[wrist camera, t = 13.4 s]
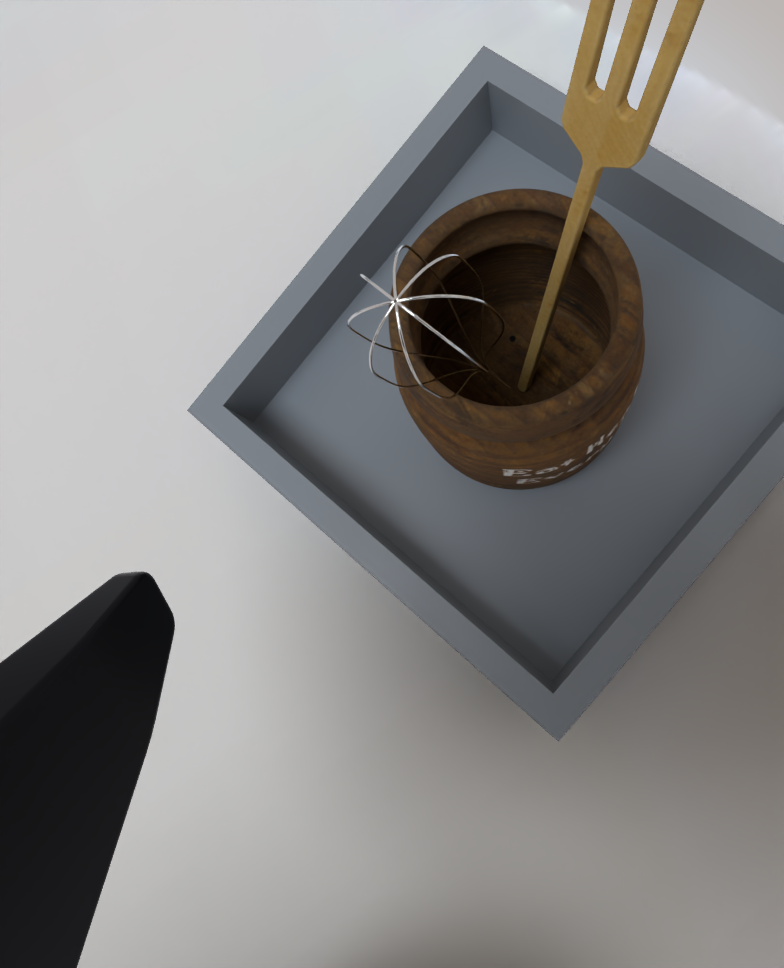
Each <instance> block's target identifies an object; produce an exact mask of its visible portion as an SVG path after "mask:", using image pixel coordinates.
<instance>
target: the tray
mask: <svg viewBox="0 0 784 968" xmlns="http://www.w3.org/2000/svg"><path fill="white" fill-rule="evenodd" d="M566 97H567V95H565V94H563V93H562V92H560V91H558V90H557V89H555V88H553V87H552V86H550V85H548V84H547V83H545V82H543V81H542V80H540V79H538V78H537V77H535V76H533V75H532V74H530V73H528V72H527V71H525V70H523V69H522V68H520V67H518V66H517V65H515V64H513V63H512V62H510V61H508V60H507V59H505V58H503V57H502V56H500V55H498V54H497V53H495V52H493V51H492V50H490V49H488V48H487V47H485V46H483V47H482V48H481V50H480V51H479V52H478V53H477V55H476V56H475V57H474V58H473V60H472V61H471V62H470V63H469V64H468V66H467V67H466V68H465V69H464V71H463V72H462V73H461V74H460V76H459V77H458V78H457V79H456V80H455V82H454V83H453V84H452V85H451V87H450V88H449V89H448V90H447V91H446V93H445V94H444V95H443V96H442V98H441V99H440V100H439V101H438V103H437V104H436V105H435V106H434V107H433V109H432V110H431V111H430V112H429V114H428V115H427V116H426V117H425V119H424V120H423V121H422V122H421V123H420V125H419V126H418V127H417V128H416V130H415V131H414V132H413V133H412V135H411V136H410V137H409V138H408V139H407V141H406V142H405V143H404V144H403V146H402V147H401V148H400V149H399V151H398V152H397V153H396V154H395V155H394V157H393V158H392V159H391V160H390V162H389V163H388V164H387V165H386V167H385V168H384V169H383V170H382V171H381V173H380V174H379V175H378V176H377V178H376V179H375V180H374V181H373V183H372V184H371V185H370V186H369V187H368V189H367V190H366V191H365V192H364V194H363V195H362V196H361V197H360V198H359V200H358V201H357V202H356V203H355V205H354V206H353V207H352V208H351V210H350V211H349V212H348V213H347V214H346V216H345V217H344V218H343V219H342V221H341V222H340V223H339V224H338V226H337V227H336V228H335V229H334V230H333V232H332V233H331V234H330V235H329V237H328V238H327V239H326V240H325V242H324V243H323V244H322V245H321V246H320V248H319V249H318V250H317V251H316V253H315V254H314V255H313V256H312V258H311V259H310V260H309V261H308V262H307V264H306V265H305V266H304V267H303V269H302V270H301V271H300V272H299V274H298V275H297V276H296V277H295V278H294V280H293V281H292V282H291V283H290V285H289V286H288V287H287V288H286V289H285V291H284V292H283V293H282V294H281V296H280V297H279V298H278V299H277V301H276V302H275V303H274V304H273V305H272V307H271V308H270V309H269V310H268V312H267V313H266V314H265V315H264V317H263V318H262V319H261V320H260V321H259V323H258V324H257V325H256V326H255V328H254V329H253V330H252V331H251V333H250V334H249V335H248V336H247V337H246V339H245V340H244V341H243V342H242V344H241V345H240V346H239V347H238V349H237V350H236V351H235V352H234V353H233V355H232V356H231V357H230V358H229V360H228V361H227V362H226V363H225V365H224V366H223V367H222V368H221V369H220V371H219V372H218V373H217V374H216V376H215V377H214V378H213V379H212V381H211V382H210V383H209V384H208V385H207V387H206V388H205V389H204V390H203V392H202V393H201V394H200V395H199V396H198V398H197V399H196V400H195V401H194V403H193V404H192V405H191V406H190V408H189V409H188V410H187V411H188V412H190V413H191V414H192V415H193V416H194V417H195V418H196V419H197V420H199V421H200V422H201V423H202V424H203V425H204V426H205V427H206V428H207V429H209V430H210V431H211V432H212V433H213V434H214V435H215V436H216V437H218V438H219V439H220V440H221V441H222V442H223V443H224V444H225V445H227V446H228V447H229V448H230V449H231V450H232V451H233V452H234V453H236V454H237V455H238V456H239V457H240V458H241V459H242V460H243V461H244V462H246V463H247V464H248V465H249V466H250V467H251V468H252V469H253V470H255V471H256V472H257V473H258V474H259V475H260V476H261V477H262V478H264V479H265V480H266V481H267V482H268V483H269V484H270V485H271V486H272V487H274V488H275V489H276V490H277V491H278V492H279V493H280V494H281V495H283V496H284V497H285V498H286V499H287V500H288V501H289V502H290V503H292V504H293V505H294V506H295V507H296V508H297V509H298V510H299V511H301V512H302V513H303V514H304V515H305V516H306V517H307V518H308V519H309V520H311V521H312V522H313V523H314V524H315V525H316V526H317V527H318V528H320V529H321V530H322V531H323V532H324V533H325V534H326V535H327V536H329V537H330V538H331V539H332V540H333V541H334V542H335V543H336V544H337V545H339V546H340V547H341V548H342V549H343V550H344V551H345V552H346V553H348V554H349V555H350V556H351V557H352V558H353V559H354V560H355V561H357V562H358V563H359V564H360V565H361V566H362V567H363V568H364V569H366V570H367V571H368V572H369V573H370V574H371V575H372V576H373V577H374V578H376V579H377V580H378V581H379V582H380V583H381V584H382V585H383V586H385V587H386V588H387V589H388V590H389V591H390V592H391V593H392V594H394V595H395V596H396V597H397V598H398V599H399V600H400V601H401V602H403V603H404V604H405V605H406V606H407V607H408V608H409V609H410V610H411V611H413V612H414V613H415V614H416V615H417V616H418V617H419V618H420V619H422V620H423V621H424V622H425V623H426V624H427V625H428V626H429V627H431V628H432V629H433V630H434V631H435V632H436V633H437V634H438V635H439V636H441V637H442V638H443V639H444V640H445V641H446V642H447V643H448V644H450V645H451V646H452V647H453V648H454V649H455V650H456V651H457V652H459V653H460V654H461V655H462V656H463V657H464V658H465V659H466V660H468V661H469V662H470V663H471V664H472V665H473V666H474V667H475V668H476V669H478V670H479V671H480V672H481V673H482V674H483V675H484V676H485V677H487V678H488V679H489V680H490V681H491V682H492V683H493V684H494V685H496V686H497V687H498V688H499V689H500V690H501V691H502V692H503V693H504V694H506V695H507V696H508V697H509V698H510V699H511V700H512V701H513V702H515V703H516V704H517V705H518V706H519V707H520V708H521V709H522V710H524V711H525V712H526V713H527V714H528V715H529V716H530V717H531V718H533V719H534V720H535V721H536V722H537V723H538V724H539V725H540V726H541V727H543V728H544V729H545V730H546V731H547V732H548V733H549V734H550V735H552V736H553V737H554V738H555V739H556V740H557V741H558V742H559V740H560V739H561V738H562V737H563V736H564V735H565V733H566V732H567V731H568V730H569V729H570V727H571V726H572V725H573V724H574V723H575V722H576V720H577V719H578V718H579V717H580V716H581V714H582V713H583V712H584V711H585V710H586V709H587V707H588V706H589V705H590V704H591V703H592V702H593V700H594V699H595V698H596V697H597V696H598V694H599V693H600V692H601V691H602V690H603V689H604V687H605V686H606V685H607V684H608V683H609V681H610V680H611V679H612V678H613V677H614V676H615V674H616V673H617V672H618V671H619V670H620V668H621V667H622V666H623V665H624V664H625V663H626V661H627V660H628V659H629V658H630V657H631V656H632V654H633V653H634V652H635V651H636V650H637V648H638V647H639V646H640V645H641V644H642V643H643V641H644V640H645V639H646V638H647V637H648V635H649V634H650V633H651V632H652V631H653V630H654V628H655V627H656V626H657V625H658V624H659V622H660V621H661V620H662V619H663V618H664V617H665V615H666V614H667V613H668V612H669V611H670V609H671V608H672V607H673V606H674V605H675V604H676V602H677V601H678V600H679V599H680V598H681V597H682V595H683V594H684V593H685V592H686V591H687V589H688V588H689V587H690V586H691V585H692V584H693V582H694V581H695V580H696V579H697V578H698V576H699V575H700V574H701V573H702V572H703V571H704V569H705V568H706V567H707V566H708V565H709V563H710V562H711V561H712V560H713V559H714V558H715V556H716V555H717V554H718V553H719V552H720V551H721V549H722V548H723V547H724V546H725V545H726V543H727V542H728V541H729V540H730V539H731V538H732V536H733V535H734V534H735V533H736V532H737V530H738V529H739V528H740V527H741V526H742V525H743V523H744V522H745V521H746V520H747V519H748V517H749V516H750V515H751V514H752V513H753V512H754V510H755V509H756V508H757V507H758V506H759V505H760V503H761V502H762V501H763V500H764V499H765V497H766V496H767V495H768V494H769V493H770V492H771V490H772V489H773V488H774V487H775V486H776V484H777V483H778V482H779V481H780V480H781V479H782V477H783V476H784V225H782V224H780V223H779V222H777V221H775V220H774V219H772V218H770V217H769V216H767V215H765V214H764V213H762V212H760V211H759V210H757V209H755V208H754V207H752V206H750V205H749V204H747V203H745V202H744V201H742V200H740V199H739V198H737V197H735V196H734V195H732V194H730V193H729V192H727V191H725V190H724V189H722V188H720V187H719V186H717V185H715V184H714V183H712V182H710V181H709V180H707V179H705V178H704V177H702V176H700V175H699V174H697V173H695V172H694V171H692V170H690V169H689V168H687V167H685V166H684V165H682V164H680V163H679V162H677V161H675V160H674V159H672V158H670V157H669V156H667V155H665V154H664V153H662V152H660V151H659V150H657V149H655V148H654V147H652V146H650V145H648V148H647V150H646V153H645V155H644V157H643V158H642V159H641V160H640V161H639V162H638V163H637V164H636V165H634V166H633V167H631V168H630V169H625V168H603V171H602V174H601V177H600V180H599V183H598V186H597V189H596V192H595V195H594V198H593V201H592V204H591V207H590V208H592V209H593V210H594V211H596V212H597V213H599V214H600V215H601V216H602V217H603V218H605V219H606V220H607V221H608V222H609V223H610V224H611V225H612V226H613V227H614V228H615V230H616V231H617V232H618V233H619V234H620V236H621V237H622V239H623V240H624V242H625V243H626V245H627V247H628V248H629V250H630V252H631V254H632V256H633V259H634V261H635V264H636V267H637V270H638V273H639V277H640V282H641V289H642V296H643V310H644V316H643V325H644V332H645V354H644V363H643V368H642V373H641V377H640V381H639V384H638V387H637V390H636V393H635V395H634V398H633V400H632V403H631V405H630V407H629V409H628V411H627V413H626V415H625V417H624V419H623V421H622V423H621V424H620V426H619V428H618V430H617V431H616V433H615V435H614V436H613V438H612V439H611V441H610V442H609V443H608V445H607V446H606V447H605V448H604V450H603V451H602V452H601V453H600V454H599V455H598V456H597V457H596V458H595V459H594V460H593V461H592V462H591V463H590V464H589V465H587V466H586V467H585V468H583V469H582V470H581V471H579V472H578V473H576V474H574V475H573V476H571V477H569V478H567V479H565V480H563V481H560V482H558V483H555V484H552V485H549V486H545V487H540V488H534V489H525V490H512V489H503V488H497V487H493V486H489V485H486V484H483V483H480V482H478V481H475V480H473V479H471V478H469V477H467V476H465V475H464V474H462V473H461V472H459V471H458V470H456V469H455V468H454V467H452V466H451V465H450V464H449V463H448V462H447V461H446V460H444V459H443V458H442V457H441V456H440V454H439V453H438V452H437V451H436V450H435V449H434V448H433V446H432V445H431V444H430V443H429V441H428V440H427V439H426V438H425V436H424V435H423V434H422V433H421V431H420V430H419V428H418V427H417V425H416V424H415V422H414V421H413V419H412V417H411V416H410V414H409V412H408V410H407V408H406V406H405V404H404V402H403V399H402V397H401V394H400V391H399V388H398V387H396V386H393V385H390V384H388V383H386V382H384V381H383V380H381V379H379V378H377V377H376V376H375V375H373V374H372V372H371V370H370V367H369V352H370V348H371V344H372V343H370V342H368V341H366V340H364V339H363V338H361V337H360V336H358V335H356V334H355V333H353V332H352V331H351V330H349V328H348V326H347V322H348V320H349V318H350V317H351V316H352V315H353V314H355V313H356V312H358V311H360V310H362V309H365V308H367V307H370V306H373V305H376V304H380V303H384V302H388V301H390V299H389V298H388V297H387V296H385V295H384V294H383V293H382V292H380V291H379V290H378V289H376V288H375V287H374V286H372V285H371V284H370V283H369V282H367V281H366V280H365V279H363V278H362V277H361V276H360V274H363V275H364V276H366V277H367V278H368V279H370V280H371V281H372V282H374V283H375V284H376V285H378V286H379V287H380V288H381V289H383V290H384V291H385V292H387V293H388V294H389V295H390V294H391V290H392V286H393V264H394V258H395V254H396V252H397V250H398V248H399V247H400V246H402V245H409V246H410V247H411V246H412V244H413V243H414V242H415V240H416V239H417V238H418V237H419V236H420V234H421V233H422V232H423V231H424V230H425V229H426V228H427V227H428V226H429V225H430V224H432V223H433V222H434V221H435V220H436V219H437V218H439V217H440V216H441V215H443V214H444V213H446V212H447V211H449V210H450V209H452V208H454V207H455V206H457V205H459V204H461V203H463V202H465V201H467V200H469V199H472V198H474V197H477V196H480V195H483V194H486V193H491V192H495V191H500V190H506V189H539V190H546V191H550V192H555V193H558V194H562V195H565V196H568V197H570V198H573V195H574V192H575V188H576V185H577V182H578V178H579V175H580V171H581V168H582V165H583V161H582V156H581V153H580V152H579V150H578V149H577V147H576V146H575V144H574V143H573V141H572V140H571V138H570V137H569V135H568V134H567V132H566V131H565V130H564V128H563V124H562V114H563V109H564V105H565V101H566ZM408 250H409V249H408V248H403V249H402V250H401V251H400V253H399V255H398V259H397V265H396V274H397V271H398V269H399V266H400V264H401V262H402V260H403V258H404V257H405V255H406V253H407V252H408ZM388 309H389V305H385V306H381V307H377V308H374V309H371V310H368V311H366V312H363V313H361V314H359V315H357V316H356V317H355V318H353V319H352V321H351V322H350V326H351V328H353V329H354V330H355V331H357V332H358V333H360V334H361V335H363V336H365V337H366V338H368V339H370V340H372V341H373V338H374V335H375V333H376V331H377V329H378V327H379V325H380V323H381V321H382V319H383V317H384V316H385V314H386V312H387V311H388ZM375 343H378V344H380V345H383V346H386V347H389V348H391V343H390V335H389V322H388V317H387V318H386V320H385V322H384V324H383V326H382V327H381V329H380V332H379V334H378V336H377V339H376V341H375ZM372 367H373V370H374V372H375V373H377V374H378V375H379V376H381V377H383V378H384V379H386V380H388V381H390V382H392V383H395V384H397V380H396V376H395V370H394V358H393V353H392V351H391V350H387V349H384V348H381V347H379V346H376V345H374V348H373V352H372Z"/></svg>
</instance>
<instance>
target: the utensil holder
mask: <svg viewBox="0 0 784 968" xmlns="http://www.w3.org/2000/svg"><path fill="white" fill-rule="evenodd" d="M657 1H658V0H633V1H632V4H631V7H630V10H629V13H628V17H627V20H626V23H625V26H624V30H623V33H622V36H621V39H620V42H619V46H618V49H617V52H616V55H615V59H614V62H613V65H612V68H611V72H610V75H609V78H608V81H607V85H606V88H605V91H603V90H601V89H600V88H599V87H598V86H597V83H596V81H595V76H596V72H597V68H598V64H599V61H600V57H601V53H602V49H603V45H604V41H605V37H606V33H607V29H608V26H609V22H610V18H611V14H612V10H613V6H614V2H615V0H591V2H590V6H589V10H588V14H587V18H586V22H585V26H584V30H583V34H582V37H581V41H580V45H579V49H578V53H577V57H576V61H575V65H574V69H573V73H572V77H571V81H570V85H569V89H568V93H567V97H566V101H565V105H564V109H563V114H562V124H563V128H564V130H565V131H566V132H567V134H568V135H569V137H570V138H571V140H572V141H573V143H574V144H575V146H576V147H577V149H578V150H579V152H580V153H581V156H582V161H583V165H582V168H581V171H580V175H579V178H578V182H577V185H576V188H575V192H574V195H573V198H570V197H568V196H565V195H562V194H558V193H555V192H550V191H546V190H539V189H506V190H500V191H495V192H491V193H486V194H483V195H480V196H477V197H474V198H472V199H469V200H467V201H465V202H463V203H461V204H459V205H457V206H455V207H454V208H452V209H450V210H449V211H447V212H446V213H444V214H443V215H441V216H440V217H439V218H437V219H436V220H435V221H434V222H433V223H432V224H430V225H429V226H428V227H427V228H426V229H425V230H424V231H423V232H422V233H421V234H420V236H419V237H418V238H417V239H416V240H415V242H414V243H413V244H412V246H411V247H410V246H409V245H402V246H400V247H399V248H398V250H397V252H396V254H395V258H394V264H393V286H392V290H391V294H390V295H389V294H388V293H387V292H385V291H384V290H383V289H381V288H380V287H379V286H378V285H376V284H375V283H374V282H372V281H371V280H370V279H368V278H367V277H366V276H364V275H363V274H360V276H361V277H362V278H363V279H365V280H366V281H367V282H369V283H370V284H371V285H372V286H374V287H375V288H376V289H378V290H379V291H380V292H382V293H383V294H384V295H385V296H387V297H388V298H389V299H390V301H388V302H384V303H380V304H376V305H373V306H370V307H367V308H365V309H362V310H360V311H358V312H356V313H355V314H353V315H352V316H351V317H350V318H349V320H348V322H347V326H348V328H349V330H351V331H352V332H353V333H355V334H356V335H358V336H360V337H361V338H363V339H364V340H366V341H368V342H370V343H372V344H371V348H370V352H369V367H370V370H371V372H372V374H373V375H375V376H376V377H377V378H379V379H381V380H383V381H384V382H386V383H388V384H390V385H393V386H396V387H398V388H399V391H400V394H401V397H402V399H403V402H404V404H405V406H406V408H407V410H408V412H409V414H410V416H411V417H412V419H413V421H414V422H415V424H416V425H417V427H418V428H419V430H420V431H421V433H422V434H423V435H424V436H425V438H426V439H427V440H428V441H429V443H430V444H431V445H432V446H433V448H434V449H435V450H436V451H437V452H438V453H439V454H440V456H441V457H442V458H443V459H444V460H446V461H447V462H448V463H449V464H450V465H451V466H452V467H454V468H455V469H456V470H458V471H459V472H461V473H462V474H464V475H465V476H467V477H469V478H471V479H473V480H475V481H478V482H480V483H483V484H486V485H489V486H493V487H497V488H503V489H512V490H525V489H534V488H540V487H545V486H549V485H552V484H555V483H558V482H560V481H563V480H565V479H567V478H569V477H571V476H573V475H574V474H576V473H578V472H579V471H581V470H582V469H583V468H585V467H586V466H587V465H589V464H590V463H591V462H592V461H593V460H594V459H595V458H596V457H597V456H598V455H599V454H600V453H601V452H602V451H603V450H604V448H605V447H606V446H607V445H608V443H609V442H610V441H611V439H612V438H613V436H614V435H615V433H616V431H617V430H618V428H619V426H620V424H621V423H622V421H623V419H624V417H625V415H626V413H627V411H628V409H629V407H630V405H631V403H632V400H633V398H634V395H635V393H636V390H637V387H638V384H639V381H640V377H641V373H642V368H643V363H644V354H645V332H644V325H643V316H644V310H643V296H642V289H641V282H640V277H639V273H638V270H637V267H636V264H635V261H634V259H633V256H632V254H631V252H630V250H629V248H628V247H627V245H626V243H625V242H624V240H623V239H622V237H621V236H620V234H619V233H618V232H617V231H616V230H615V228H614V227H613V226H612V225H611V224H610V223H609V222H608V221H607V220H606V219H605V218H603V217H602V216H601V215H600V214H599V213H597V212H596V211H594V210H593V209H592V208H590V207H591V204H592V201H593V198H594V195H595V192H596V189H597V186H598V183H599V180H600V177H601V174H602V171H603V168H625V169H630V168H631V167H633V166H634V165H636V164H637V163H638V162H639V161H640V160H641V159H642V158H643V157H644V155H645V153H646V150H647V148H648V145H649V143H650V140H651V138H652V135H653V133H654V130H655V127H656V125H657V122H658V120H659V117H660V114H661V112H662V109H663V107H664V104H665V101H666V99H667V96H668V94H669V91H670V88H671V86H672V83H673V81H674V78H675V75H676V73H677V70H678V68H679V65H680V62H681V60H682V57H683V54H684V52H685V49H686V47H687V44H688V42H689V39H690V36H691V34H692V31H693V29H694V26H695V23H696V21H697V18H698V16H699V13H700V10H701V8H702V5H703V3H704V0H678V2H677V5H676V7H675V10H674V13H673V15H672V18H671V21H670V23H669V26H668V29H667V31H666V34H665V37H664V39H663V42H662V45H661V48H660V50H659V53H658V56H657V58H656V61H655V64H654V66H653V69H652V72H651V74H650V77H649V80H648V83H647V85H646V88H645V91H644V93H643V96H642V99H641V101H640V104H639V107H638V110H635V109H633V108H631V107H630V106H629V103H628V100H627V95H628V92H629V89H630V86H631V82H632V79H633V76H634V73H635V70H636V67H637V64H638V60H639V57H640V54H641V51H642V48H643V45H644V41H645V38H646V35H647V32H648V29H649V26H650V22H651V20H652V16H653V13H654V10H655V7H656V4H657ZM403 248H408V249H409V250H408V252H407V253H406V255H405V257H404V258H403V260H402V262H401V264H400V266H399V269H398V271H397V274H396V265H397V259H398V255H399V253H400V251H401V250H402V249H403ZM385 305H389V309H388V311H387V312H386V314H385V316H384V317H383V319H382V321H381V323H380V325H379V327H378V329H377V331H376V333H375V335H374V338H373V341H372V340H370V339H368V338H366V337H365V336H363V335H361V334H360V333H358V332H357V331H355V330H354V329H353V328H351V326H350V322H351V321H352V319H353V318H355V317H356V316H357V315H359V314H361V313H363V312H366V311H368V310H371V309H374V308H377V307H381V306H385ZM387 317H388V322H389V335H390V343H391V348H389V347H386V346H383V345H380V344H378V343H375V341H376V339H377V336H378V334H379V332H380V329H381V327H382V326H383V324H384V322H385V320H386V318H387ZM374 345H376V346H379V347H381V348H384V349H387V350H391V351H392V353H393V358H394V370H395V376H396V380H397V384H395V383H392V382H390V381H388V380H386V379H384V378H383V377H381V376H379V375H378V374H377V373H375V372H374V370H373V367H372V352H373V348H374Z"/></svg>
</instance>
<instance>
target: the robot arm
mask: <svg viewBox="0 0 784 968" xmlns="http://www.w3.org/2000/svg"><path fill="white" fill-rule="evenodd" d="M174 629H175V623H174V617H173V613H172V611H171V609H170V607H169V606H168V604H167V602H166V600H165V598H164V596H163V595H162V593H161V591H160V589H159V587H158V585H157V583H156V582H155V580H154V578H153V577H152V576H151V575H150V574H149V573H147V572H131V573H121V574H118V575H115V576H114V577H112V578H111V579H110V580H108V581H107V582H106V583H104V584H103V585H102V586H100V587H99V588H98V589H96V590H95V591H94V592H93V593H91V594H90V595H89V596H87V597H86V598H85V599H83V600H82V601H81V602H79V603H78V604H77V605H76V606H74V607H73V608H72V609H70V610H69V611H68V612H66V613H65V614H64V615H62V616H61V617H60V618H59V619H57V620H56V621H55V622H53V623H52V624H51V625H49V626H48V627H47V628H45V629H44V630H43V631H41V632H40V633H39V634H38V635H36V636H35V637H34V638H32V639H31V640H30V641H28V642H27V643H26V644H24V645H23V646H22V647H21V648H19V649H18V650H17V651H15V652H14V653H13V654H11V655H10V656H9V657H7V658H6V659H5V660H4V661H2V662H1V663H0V968H77V965H78V962H79V959H80V956H81V953H82V950H83V947H84V944H85V941H86V937H87V934H88V931H89V928H90V925H91V922H92V919H93V916H94V913H95V910H96V907H97V904H98V901H99V897H100V894H101V891H102V888H103V885H104V882H105V879H106V876H107V873H108V870H109V867H110V864H111V861H112V857H113V854H114V851H115V848H116V845H117V842H118V839H119V836H120V833H121V830H122V827H123V824H124V821H125V817H126V814H127V811H128V808H129V805H130V802H131V799H132V796H133V793H134V790H135V787H136V784H137V781H138V778H139V774H140V771H141V768H142V765H143V762H144V759H145V756H146V753H147V749H148V746H149V743H150V739H151V736H152V732H153V728H154V724H155V720H156V715H157V711H158V706H159V701H160V697H161V692H162V687H163V682H164V678H165V673H166V668H167V664H168V659H169V654H170V650H171V645H172V640H173V636H174Z"/></svg>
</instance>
